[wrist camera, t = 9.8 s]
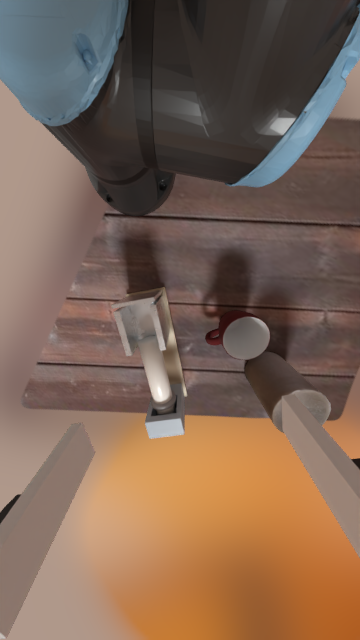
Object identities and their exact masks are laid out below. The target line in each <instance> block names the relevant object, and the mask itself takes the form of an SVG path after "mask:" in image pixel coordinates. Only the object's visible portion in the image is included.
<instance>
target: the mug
mask: <svg viewBox="0 0 360 640" xmlns="http://www.w3.org/2000/svg"><path fill="white" fill-rule="evenodd" d="M218 334H219V336H218V337H216V338H212V337H214V336H216V335H218ZM205 339H206V342H207V343H208V344H210V345H219V344H222V346H223V347H224V349H225V351H226V352H227V353H228V354H229V355H230V356H231V357H233V358H235V359H239V360H249V359H253V358H255V357H257V356H259V355H261V354H262V353H263V352H264V351H265V350H266V348H267V346H268V344H269V342H270V331H269V328H268V326H267V325H266V323H265V322H264V321H262V320H261V319H260V318H258V317H257V316H255V315H253V314H251V313H248V312H243V311H238V310H234V311H230V312H227V313H226V314H225V315H223V317H222V318H221V320H220V322H219V328H218V329H215V330H212V331H210V332H208V333H207V334H206V337H205Z"/></svg>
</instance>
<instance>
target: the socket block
mask: <svg viewBox="0 0 360 640" xmlns="http://www.w3.org/2000/svg"><path fill="white" fill-rule="evenodd" d="M170 387H171V390H173V391H174V392H175V396H176V401H175V403H174V404H175V408H176V413H173V414H165V415H157V411H156V410H155V409H154V408H153V407H152V405H151V400H150V404H149V408H148V412H147V416H146V420H145V425H146V428H147V431H148V435H149V438H150V439H151V438H159V437H167V436H175V435H183V434H184V392H183V388H182V383H179V384H172V385H170ZM151 397H152V396H151Z"/></svg>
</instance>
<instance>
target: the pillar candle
mask: <svg viewBox="0 0 360 640" xmlns="http://www.w3.org/2000/svg"><path fill="white" fill-rule="evenodd" d="M245 376H246V378H247V379H248V381H249V383H250V385H251V386H252V388H253V390H254V392H255V394H256V395H257V397H258V399H259V400H260V402H261V404H262V405H263V407H264V409H265V410H266V412H267V414H268V416H269V417H270V419H271V420H272V422H273V424H274V425H275V426H276V427H277V429H278V430H280V431H281V432H283V425H282V396H285V395H293V394H295V395H296V397H297V398H298V399H299V400H300V401H301V402H302V404H303V405H304V406H305V407H306V408H307V409H308V410H309V412H310V413H311V414H312V415H313V416H314V417H315V419H316V420H317V421H318V422H319V423H320V424H321V426H322V425H323V424H324V422H325V421H326V420H327V418H328V416H329V413H330V411H331V408H330V402H329V400H327V398H326V397H325V395H323V394H322V393H321V392H320V391H318V390H317V389H316V388H315V387H314V386H313V385H312V384H311V383H310V382H308V381H307V380H306V379H305V378H304V377H303V376H302V375H301V374H300V373H298V372H297V371H296V370H295V369H294V368H293V367H292V366H291V365H290V364H288V363H287V362H286V361H285V360H284V359H283V358H282V357H281V356H279V355H277V354H275V353H272V352H263V353H262V354H261V355H259V356H257V357H255V358H253V359H250V360H249V361H248V363H247V364H246V367H245ZM283 433H284V432H283Z"/></svg>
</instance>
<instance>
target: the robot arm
mask: <svg viewBox="0 0 360 640" xmlns="http://www.w3.org/2000/svg"><path fill="white" fill-rule="evenodd" d="M359 59H360V0H0V79H1V80H2V82H3V83H4V84H5V85H6V86H7V87H8V88H9V89H10V90H11V92H12V93H13V94H14V95H15V96H16V97H17V99H18V100H19V101H20V103H21V105H22V106H23V108H24V109H25V110H26V111H27V112H28V113H29V114H30V115H31V116H32V117H34V118H35V119H36V120H39V121H40V122H41V123H42V124H43V125H44V126H45V127H46V128H47V129H48V130H49V131H50V132H51V133H52V134H53V135H54V136H55V137H56V138H57V139H58V140H59V141H60V142H61V143H62V144H63V145H64V146H65V147H66V148H67V149H68V150H69V151H70V152H71V153H72V154H73V155H74V156H75V157H76V158H77V159H78V160H79V161H80V162H81V163H82V164H83V165H84V166H85V168H86V171H87V173H88V176H89V179H90V181H91V183H92V185H93V186H94V188H95V190H96V191H97V193H98V194H99V195H100V196H101V198H103V200H104V201H105V202H107V203H108V204H109V205H110V206H111V207H113V208H114V209H115V210H117V211H119V212H121V213H124V214H127V215H132V216H141V215H145V214H148V213H151V212H153V211H155V210H156V209H157V208H159V207H160V206H161V205H162V204H163V203H164V202H165V200H166V199H167V197H168V196H169V194H170V192H171V190H172V187H173V184H174V180H175V174H176V173H177V174H182V175H187V176H193V177H198V178H203V179H209V180H214V181H219V182H224V183H225V184H226V185H228V186H237V185H242V186H250V187H262V186H264V185H268V184H269V183H272V182H274V181H275V180H277V179H278V178H279V177H281V176H282V175H283V174H284V173H285V172H286V171H287V170H288V169H289V168H290V167H291V166H292V165H293V164H294V163H295V162H296V161H297V160H298V158H299V157H300V156H301V155H302V153H303V152H304V151H305V150H306V148H307V147H308V146H309V144H310V143H311V142H312V140H313V139H314V138H315V136H316V135H317V133H318V132H319V130H320V129H321V127H322V126H323V124H324V123H325V121H326V120H327V118H328V117H329V115H330V113H331V112H332V110H333V108H334V107H335V105H336V103H337V101H338V100H339V98H340V96H341V94H342V92H343V90H344V88H345V87H346V80H345V78H346V77H347V75H348V74H349V73H350V71H351V70H352V68H353V67H354V66H355V64H356V63H357V62H358V60H359ZM282 425H283V432H284V433H285V435H286V436H287V438H288V440H289V442H290V443H291V445H292V446H293V448H294V450H295V451H296V453H297V455H298V456H299V458H300V460H301V461H302V463H303V465H304V466H305V468H306V470H307V471H308V473H309V474H310V476H311V478H312V480H313V481H314V483H315V484H316V486H317V488H318V489H319V491H320V493H321V495H322V496H323V498H324V499H325V501H326V503H327V505H328V506H329V508H330V510H331V511H332V513H333V514H334V516H335V517H336V519H337V521H338V523H339V524H340V526H341V528H342V529H343V531H344V533H345V534H346V536H347V538H348V539H349V541H350V543H351V544H352V546H353V548H354V549H355V551H356V553H357V554H358V556H359V558H360V458H359V459H350V458H349V457H348V456H347V454H346V453H345V452H344V451H343V450H342V449H341V447H340V446H339V445H338V444H337V443H336V442H335V441H334V440H333V438H332V437H331V436H330V435H329V434H328V433H327V431H326V430H325V429H324V428H323V427H322V426H321V424H320V423H319V422H318V421H317V420H316V419H315V417H314V416H313V415H312V414H311V413H310V412H309V410H308V409H307V408H306V407H305V406H304V405H303V404H302V402H301V401H300V400H299V399H298V398H297V397H296V395H295V394H293V395H285V396H282ZM94 454H95V451H94V448H93V446H92V444H91V441H90V439H89V437H88V434H87V432H86V430H85V427H84V425H83V423H75V424H71V426H70V427H69V429H68V430H67V431H66V433H65V434H64V436H63V437H62V438H61V440H60V441H59V443H58V444H57V445H56V447H55V448H54V450H53V451H52V452H51V454H50V455H49V457H48V458H47V459H46V461H45V462H44V464H43V465H42V466H41V468H40V469H39V471H38V472H37V474H36V475H35V476H34V478H33V479H32V480H31V482H30V483H29V485H28V486H27V487H26V489H25V490H24V492H23V493H22V494H21V495H16V496H15V497H14V499H13V500H11V501H10V502H9V504H7V505H6V507H4V509H3V510H2V511H1V512H0V639H3V638H7V636H8V634H9V632H10V630H11V628H12V626H13V624H14V622H15V619H16V617H17V615H18V613H19V611H20V609H21V607H22V605H23V603H24V601H25V599H26V597H27V594H28V592H29V590H30V588H31V586H32V584H33V582H34V580H35V578H36V575H37V574H38V571H39V569H40V567H41V565H42V563H43V561H44V559H45V557H46V555H47V552H48V550H49V548H50V546H51V544H52V542H53V540H54V538H55V536H56V533H57V532H58V530H59V527H60V525H61V523H62V521H63V519H64V517H65V515H66V513H67V511H68V509H69V507H70V504H71V502H72V500H73V498H74V496H75V493H76V492H77V490H78V488H79V485H80V483H81V481H82V479H83V477H84V475H85V473H86V471H87V469H88V467H89V465H90V463H91V460H92V458H93V456H94Z"/></svg>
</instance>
